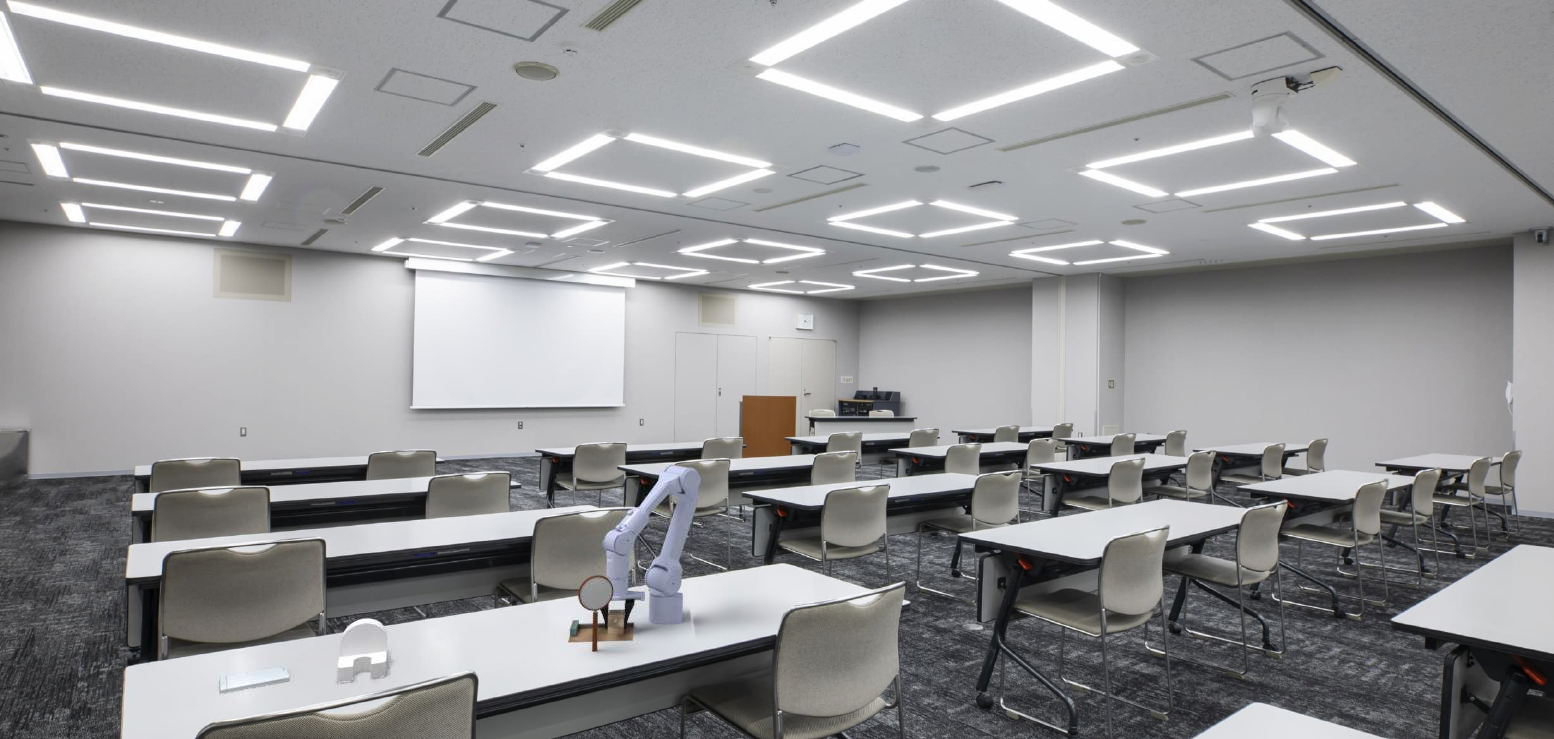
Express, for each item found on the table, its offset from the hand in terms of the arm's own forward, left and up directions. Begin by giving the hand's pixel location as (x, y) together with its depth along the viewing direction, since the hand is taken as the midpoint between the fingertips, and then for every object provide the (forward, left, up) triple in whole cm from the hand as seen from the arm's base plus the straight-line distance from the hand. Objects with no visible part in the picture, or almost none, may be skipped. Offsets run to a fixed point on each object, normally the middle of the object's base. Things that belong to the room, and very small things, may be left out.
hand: (616, 628), depth 202 cm
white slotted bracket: (+57, +14, -3) cm, 59 cm away
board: (+3, +1, -2) cm, 5 cm away
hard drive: (+77, +21, -3) cm, 80 cm away
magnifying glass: (+4, +13, -3) cm, 14 cm away
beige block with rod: (0, 0, -1) cm, 1 cm away
